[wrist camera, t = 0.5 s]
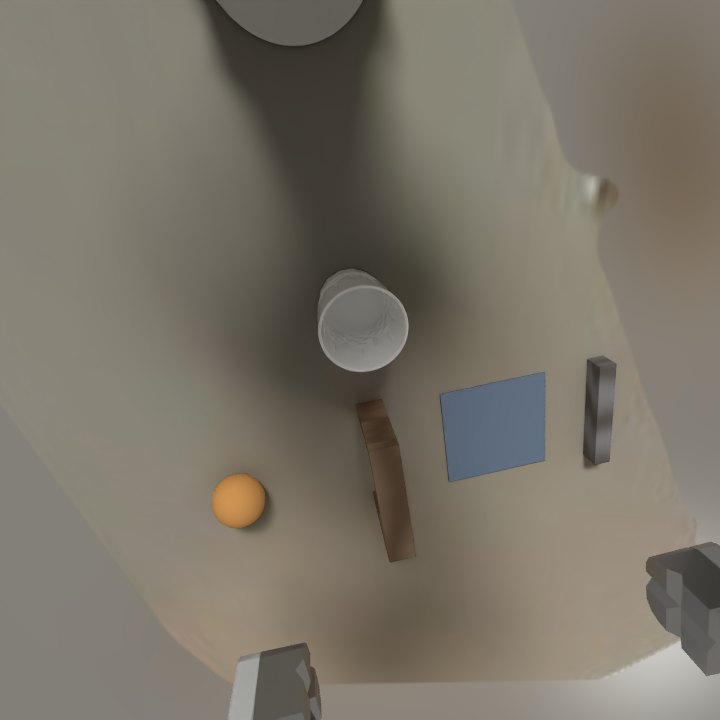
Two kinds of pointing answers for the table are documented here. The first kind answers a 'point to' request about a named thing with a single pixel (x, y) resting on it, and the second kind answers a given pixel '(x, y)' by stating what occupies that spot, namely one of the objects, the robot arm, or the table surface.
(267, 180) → the table surface
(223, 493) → the ball
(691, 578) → the robot arm
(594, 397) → the grey rectangular bar
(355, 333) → the white cup
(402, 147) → the table surface
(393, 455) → the bridge
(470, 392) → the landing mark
